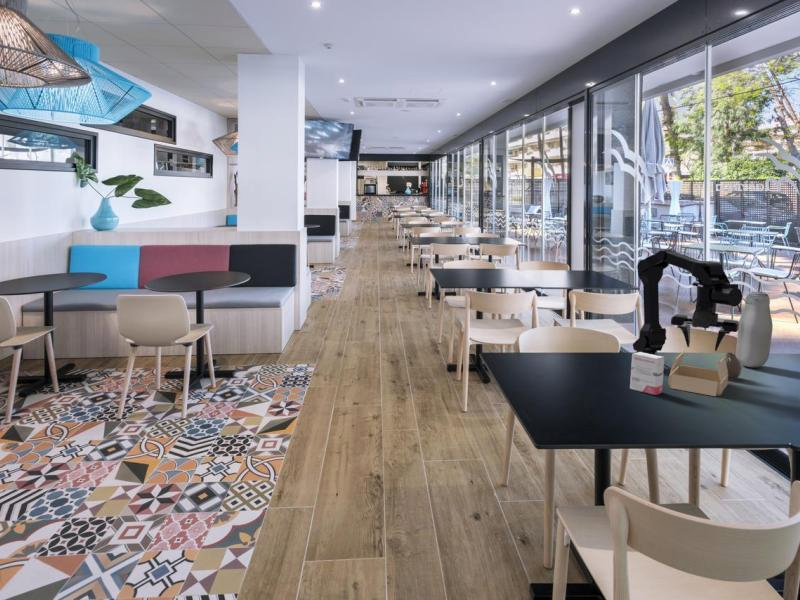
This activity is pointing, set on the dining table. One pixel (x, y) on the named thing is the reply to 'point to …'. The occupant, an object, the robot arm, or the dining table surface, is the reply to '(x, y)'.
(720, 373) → the flap right
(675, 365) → the flap left
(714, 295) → the robot arm
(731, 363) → the vase
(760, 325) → the grey bottle
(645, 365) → the ink box
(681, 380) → the carton
